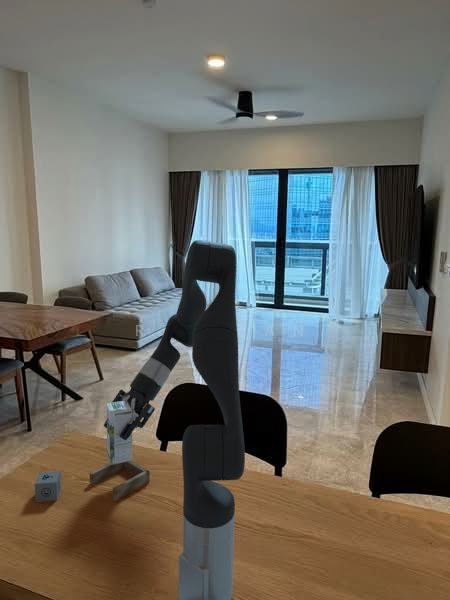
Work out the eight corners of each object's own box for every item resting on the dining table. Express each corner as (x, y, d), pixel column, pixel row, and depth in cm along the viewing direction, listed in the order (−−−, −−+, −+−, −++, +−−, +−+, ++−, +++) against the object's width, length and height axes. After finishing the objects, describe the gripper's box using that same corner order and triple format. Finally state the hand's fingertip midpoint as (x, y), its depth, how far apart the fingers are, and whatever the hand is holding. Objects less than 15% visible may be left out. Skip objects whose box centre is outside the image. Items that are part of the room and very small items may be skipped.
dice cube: (40, 490, 110) (39, 472, 109) (61, 488, 111) (60, 470, 110) (35, 502, 105) (34, 483, 104) (57, 500, 106) (56, 482, 105)
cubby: (115, 501, 106) (115, 489, 106) (89, 483, 113) (89, 473, 113) (149, 481, 115) (149, 471, 114) (123, 466, 122) (123, 456, 121)
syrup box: (106, 454, 114) (105, 403, 112) (129, 450, 117) (127, 399, 114) (110, 465, 109) (108, 412, 107) (133, 460, 112) (132, 408, 109)
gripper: (127, 365, 119) (90, 417, 113) (158, 379, 109) (120, 437, 103) (143, 378, 124) (108, 429, 118) (175, 393, 114) (138, 449, 108)
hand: (114, 433), depth 110 cm, fingers closed on syrup box, 7 cm apart
